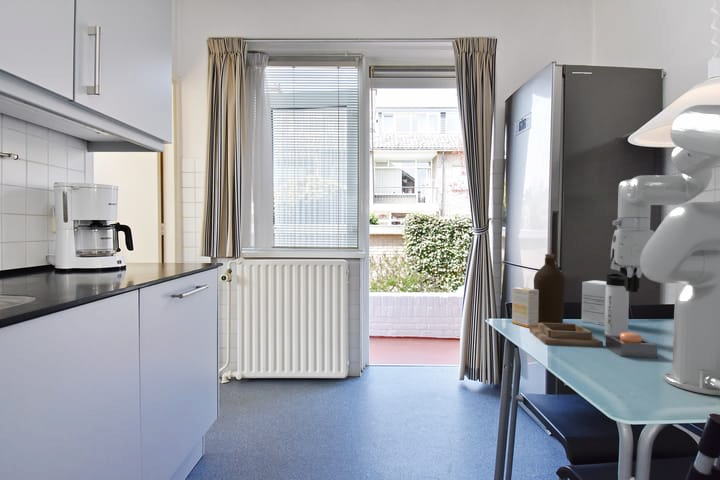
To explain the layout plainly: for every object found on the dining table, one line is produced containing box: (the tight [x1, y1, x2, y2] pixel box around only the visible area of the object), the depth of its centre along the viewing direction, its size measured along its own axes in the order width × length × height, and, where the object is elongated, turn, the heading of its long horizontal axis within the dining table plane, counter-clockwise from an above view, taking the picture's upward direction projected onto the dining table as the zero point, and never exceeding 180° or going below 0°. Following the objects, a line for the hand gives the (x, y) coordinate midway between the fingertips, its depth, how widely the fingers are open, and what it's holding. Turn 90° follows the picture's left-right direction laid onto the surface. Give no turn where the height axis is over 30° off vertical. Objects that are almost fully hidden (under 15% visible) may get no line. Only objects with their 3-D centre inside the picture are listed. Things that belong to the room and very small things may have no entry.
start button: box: [620, 331, 643, 343], centre depth 117 cm, size 5×5×3 cm
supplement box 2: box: [581, 279, 607, 326], centre depth 156 cm, size 9×9×15 cm
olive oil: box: [533, 253, 567, 323], centre depth 155 cm, size 11×11×25 cm
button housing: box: [605, 335, 658, 359], centre depth 117 cm, size 9×9×4 cm
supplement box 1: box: [511, 286, 539, 328], centre depth 150 cm, size 8×5×13 cm, turn 22°
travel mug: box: [604, 273, 630, 338], centre depth 133 cm, size 6×7×20 cm
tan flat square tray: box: [529, 322, 604, 348], centre depth 131 cm, size 16×16×4 cm
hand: (631, 291), depth 117 cm, fingers closed
